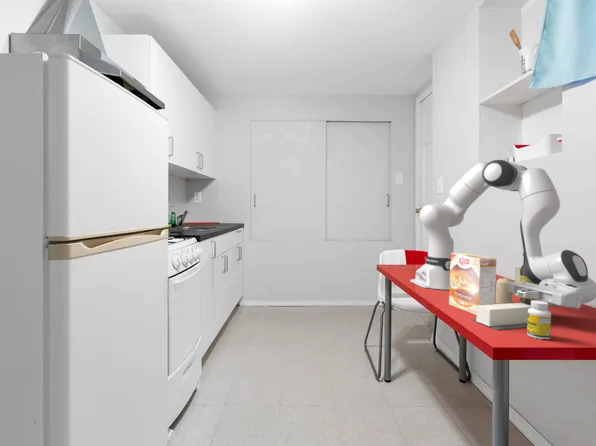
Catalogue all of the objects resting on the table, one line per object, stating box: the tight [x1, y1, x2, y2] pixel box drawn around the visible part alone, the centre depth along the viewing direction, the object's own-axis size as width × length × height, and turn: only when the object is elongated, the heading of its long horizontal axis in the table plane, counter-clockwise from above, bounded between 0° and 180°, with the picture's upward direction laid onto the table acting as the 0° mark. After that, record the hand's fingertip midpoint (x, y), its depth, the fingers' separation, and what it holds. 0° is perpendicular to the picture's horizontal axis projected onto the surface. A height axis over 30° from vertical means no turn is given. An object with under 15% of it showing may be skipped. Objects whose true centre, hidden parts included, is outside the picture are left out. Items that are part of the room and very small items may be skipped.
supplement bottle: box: [526, 300, 552, 340], centre depth 98 cm, size 5×5×10 cm
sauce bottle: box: [518, 251, 539, 305], centre depth 137 cm, size 6×6×20 cm
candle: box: [495, 277, 514, 304], centre depth 135 cm, size 6×6×10 cm
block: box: [476, 302, 532, 327], centre depth 110 cm, size 5×5×18 cm
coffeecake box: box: [448, 252, 497, 316], centre depth 125 cm, size 15×7×20 cm, turn 14°
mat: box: [471, 318, 527, 331], centre depth 110 cm, size 10×16×1 cm, turn 106°
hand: (520, 293), depth 111 cm, fingers closed
